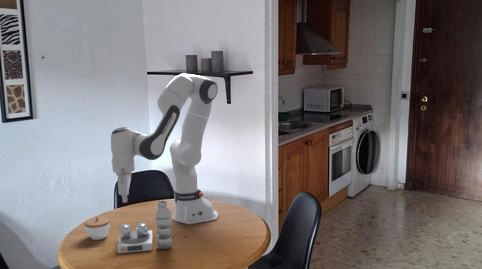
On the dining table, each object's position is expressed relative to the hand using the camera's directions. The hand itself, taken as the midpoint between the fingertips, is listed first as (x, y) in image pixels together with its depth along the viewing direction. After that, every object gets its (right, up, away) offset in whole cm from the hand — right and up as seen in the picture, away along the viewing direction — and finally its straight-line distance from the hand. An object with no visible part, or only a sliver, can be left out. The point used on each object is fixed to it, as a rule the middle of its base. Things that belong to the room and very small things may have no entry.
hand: (125, 198), depth 178 cm
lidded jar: (-16, -20, +12) cm, 28 cm away
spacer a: (-1, -17, +2) cm, 17 cm away
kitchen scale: (+3, -21, +4) cm, 21 cm away
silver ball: (+6, -17, +4) cm, 18 cm away
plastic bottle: (+16, -21, 0) cm, 27 cm away
